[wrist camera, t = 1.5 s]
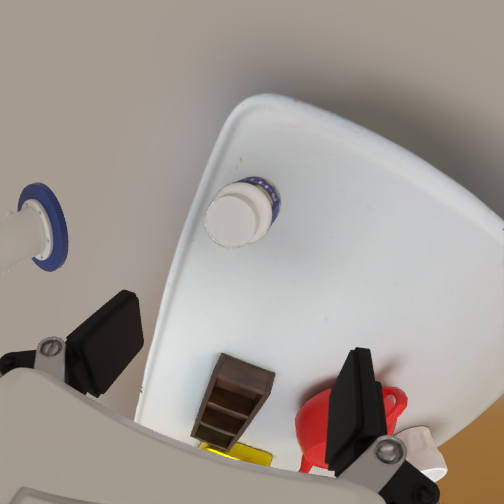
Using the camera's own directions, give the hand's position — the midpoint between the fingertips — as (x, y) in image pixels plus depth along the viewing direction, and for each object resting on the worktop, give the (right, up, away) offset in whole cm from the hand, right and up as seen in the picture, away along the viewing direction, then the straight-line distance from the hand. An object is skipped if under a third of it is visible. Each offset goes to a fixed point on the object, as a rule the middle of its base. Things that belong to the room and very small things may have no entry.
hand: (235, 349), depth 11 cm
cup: (+31, -32, +26) cm, 52 cm away
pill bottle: (+1, +9, +17) cm, 20 cm away
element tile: (-4, -42, +38) cm, 57 cm away
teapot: (+15, -21, +26) cm, 36 cm away
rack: (-3, -21, +30) cm, 37 cm away
